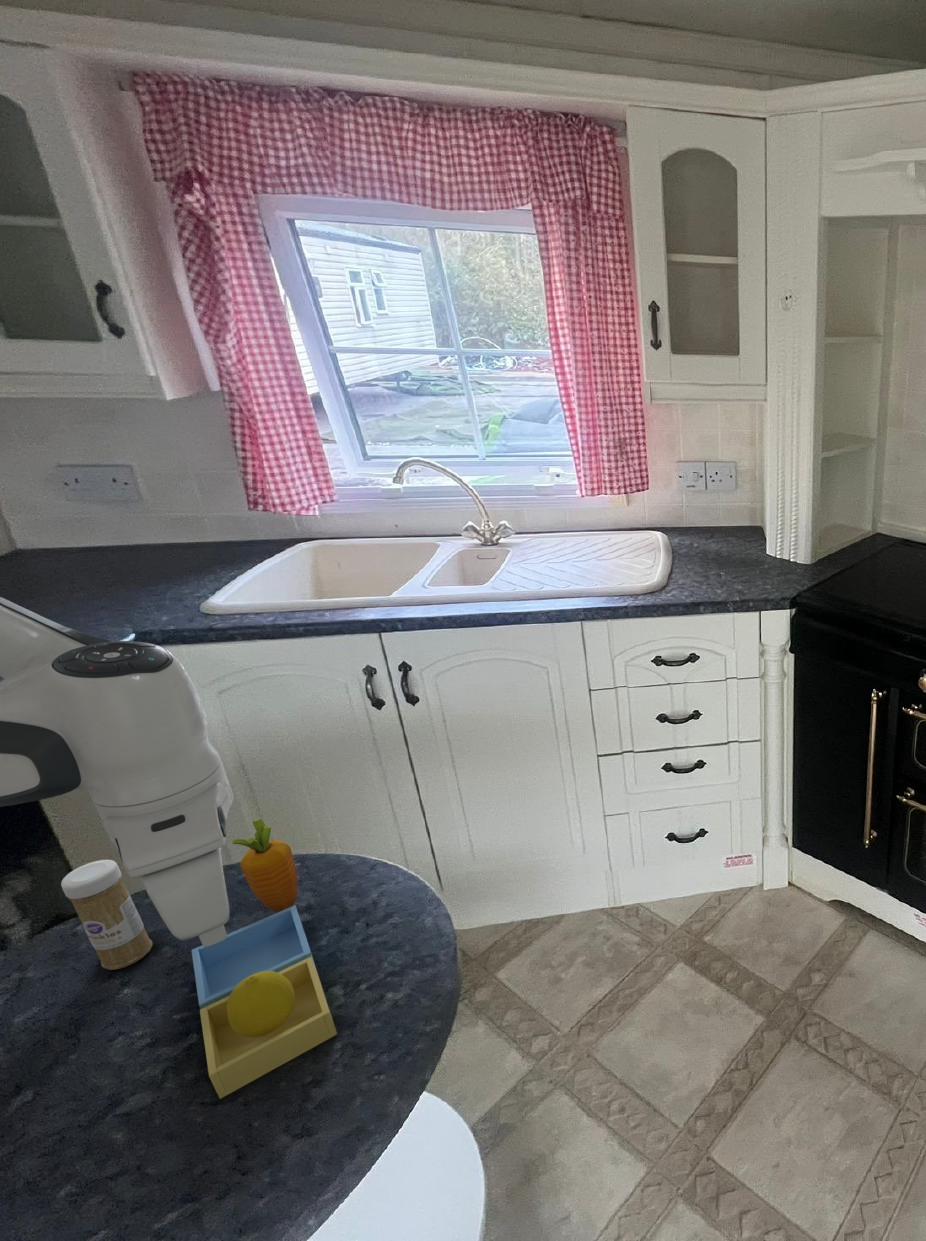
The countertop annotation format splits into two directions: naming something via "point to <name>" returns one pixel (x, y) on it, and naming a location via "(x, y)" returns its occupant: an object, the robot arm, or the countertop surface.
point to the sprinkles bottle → (107, 913)
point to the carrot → (269, 869)
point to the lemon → (260, 1004)
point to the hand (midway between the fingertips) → (210, 910)
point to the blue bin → (249, 954)
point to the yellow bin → (255, 1056)
